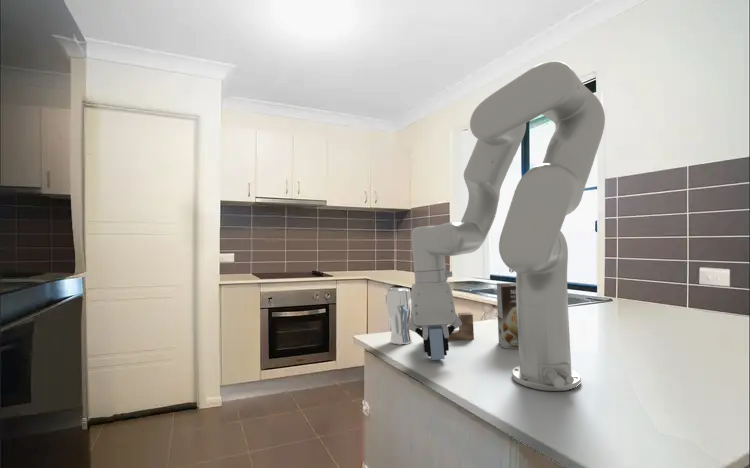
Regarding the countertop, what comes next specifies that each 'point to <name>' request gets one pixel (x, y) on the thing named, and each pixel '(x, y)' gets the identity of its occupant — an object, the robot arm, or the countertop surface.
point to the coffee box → (507, 315)
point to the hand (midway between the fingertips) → (436, 353)
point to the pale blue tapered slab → (436, 342)
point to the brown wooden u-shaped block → (463, 328)
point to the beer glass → (399, 314)
